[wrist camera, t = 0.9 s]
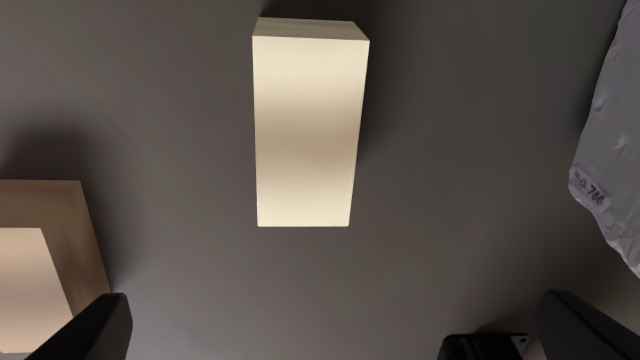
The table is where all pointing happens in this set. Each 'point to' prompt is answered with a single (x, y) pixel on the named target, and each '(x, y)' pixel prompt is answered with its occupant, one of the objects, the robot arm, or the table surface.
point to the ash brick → (307, 118)
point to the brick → (45, 260)
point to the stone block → (614, 144)
